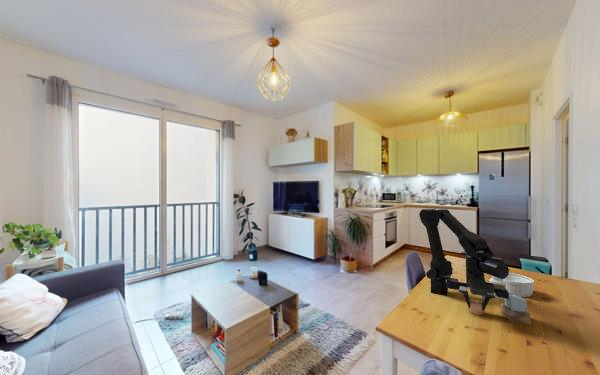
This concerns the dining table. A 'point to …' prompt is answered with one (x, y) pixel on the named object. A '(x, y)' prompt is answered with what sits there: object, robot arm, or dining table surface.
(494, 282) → the supplement bottle
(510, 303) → the slate block
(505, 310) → the walnut base block
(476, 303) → the terracotta dowel
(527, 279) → the ramekin
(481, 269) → the robot arm
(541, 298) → the dining table surface
